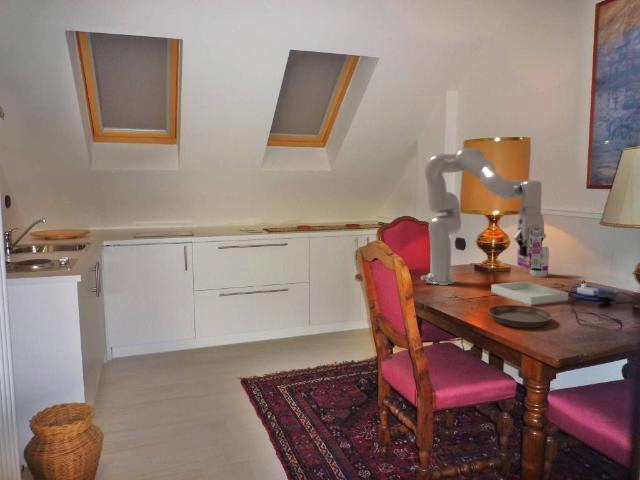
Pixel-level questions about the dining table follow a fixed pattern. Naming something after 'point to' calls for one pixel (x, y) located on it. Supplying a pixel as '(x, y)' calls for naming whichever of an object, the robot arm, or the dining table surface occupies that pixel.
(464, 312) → the dining table surface
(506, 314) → the plant saucer
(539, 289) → the tray
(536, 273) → the supplement can
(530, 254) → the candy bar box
